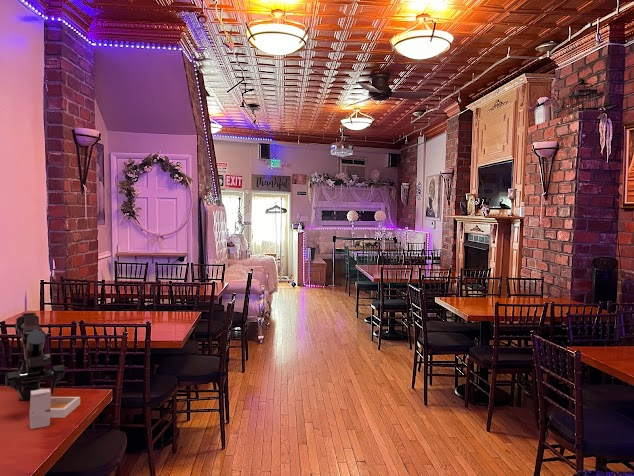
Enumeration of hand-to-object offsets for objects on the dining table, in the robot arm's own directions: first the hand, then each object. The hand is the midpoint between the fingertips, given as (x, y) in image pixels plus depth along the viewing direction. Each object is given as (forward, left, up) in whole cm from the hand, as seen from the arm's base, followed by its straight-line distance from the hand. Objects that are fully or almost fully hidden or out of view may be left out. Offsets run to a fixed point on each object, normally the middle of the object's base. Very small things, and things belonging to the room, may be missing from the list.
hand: (37, 396), depth 169 cm
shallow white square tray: (-7, +3, -8) cm, 11 cm away
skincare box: (+6, +4, -8) cm, 11 cm away
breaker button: (-7, +3, -8) cm, 10 cm away
